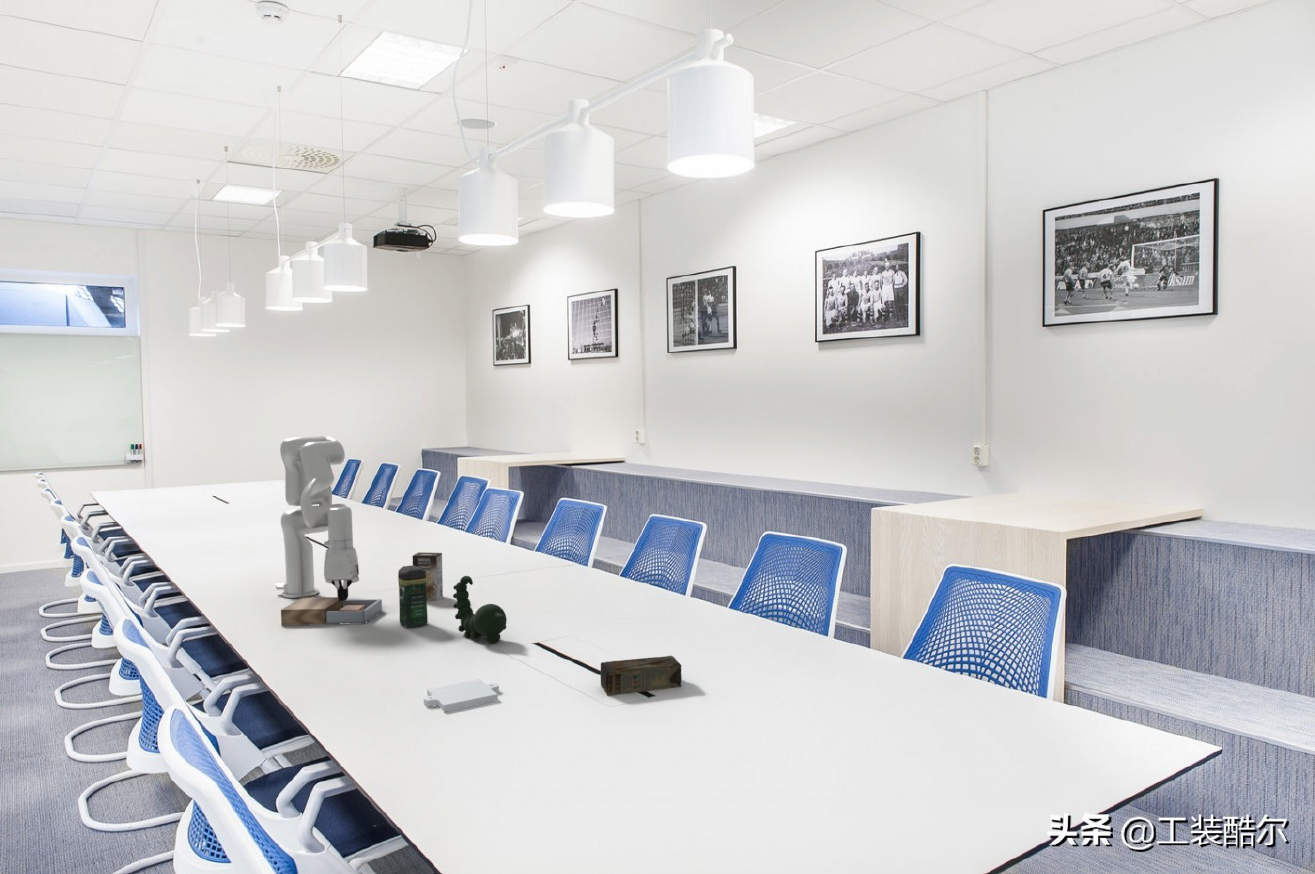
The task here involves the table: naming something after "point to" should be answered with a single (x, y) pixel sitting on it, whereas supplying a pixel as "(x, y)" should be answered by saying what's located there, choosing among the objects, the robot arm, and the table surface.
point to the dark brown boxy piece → (640, 675)
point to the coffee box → (431, 573)
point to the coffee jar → (412, 596)
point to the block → (353, 608)
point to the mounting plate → (461, 694)
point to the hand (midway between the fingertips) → (343, 599)
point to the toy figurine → (478, 615)
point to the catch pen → (355, 612)
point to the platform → (309, 610)
